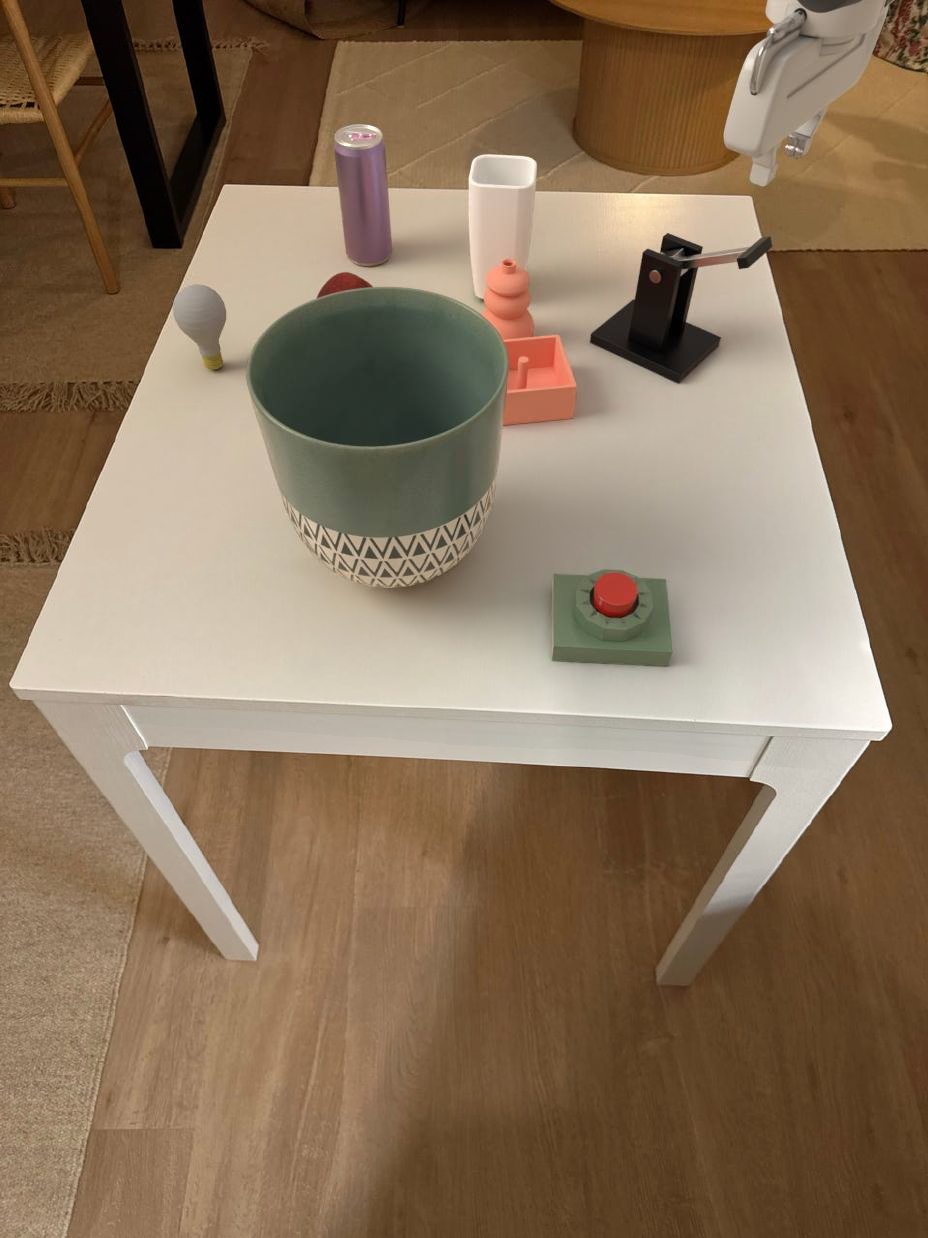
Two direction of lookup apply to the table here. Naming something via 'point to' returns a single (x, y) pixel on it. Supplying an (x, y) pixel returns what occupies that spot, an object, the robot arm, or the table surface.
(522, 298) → the pottery
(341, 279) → the apple
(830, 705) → the table surface
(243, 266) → the table surface
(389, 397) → the planter
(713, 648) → the table surface
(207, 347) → the light bulb
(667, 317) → the bracket
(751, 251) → the lever
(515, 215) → the cup
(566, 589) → the control block
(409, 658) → the table surface
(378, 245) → the beverage can
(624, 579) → the button
